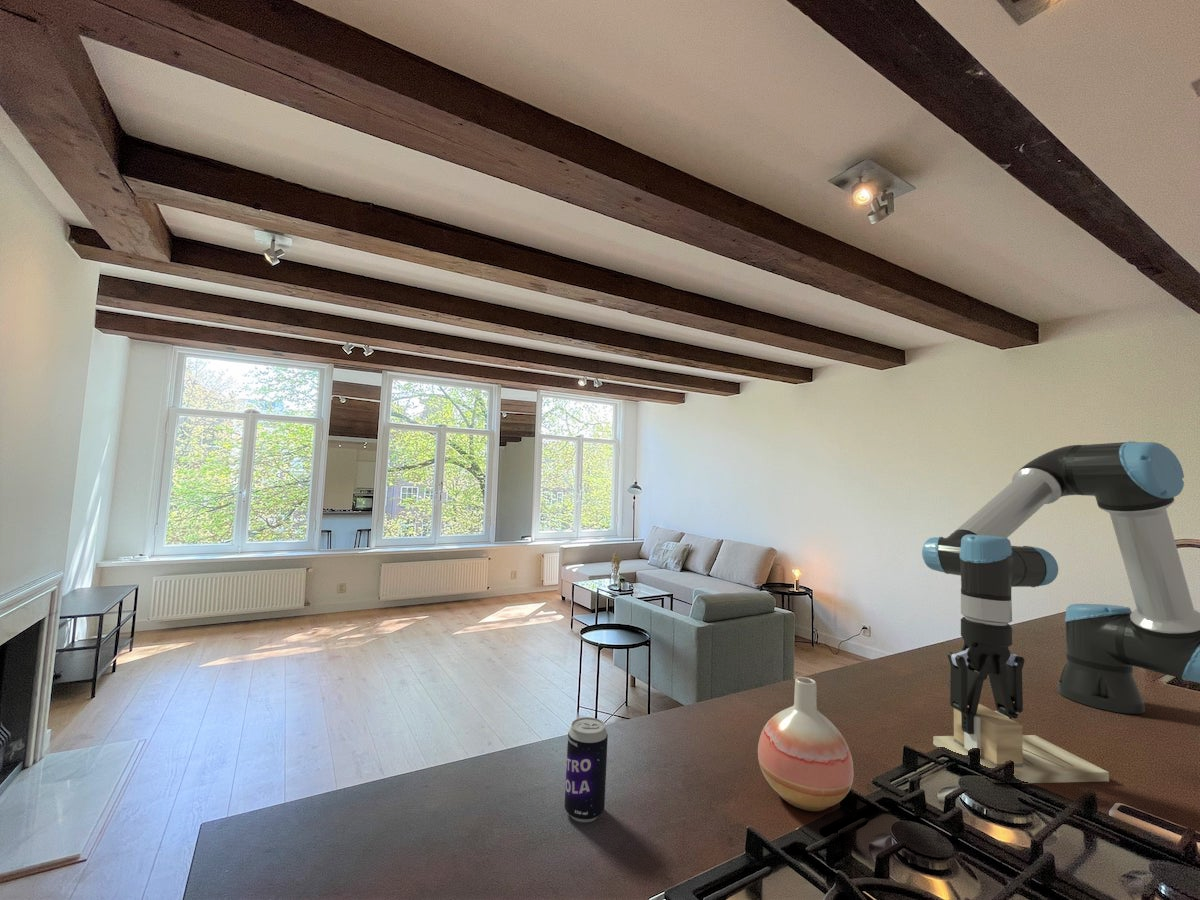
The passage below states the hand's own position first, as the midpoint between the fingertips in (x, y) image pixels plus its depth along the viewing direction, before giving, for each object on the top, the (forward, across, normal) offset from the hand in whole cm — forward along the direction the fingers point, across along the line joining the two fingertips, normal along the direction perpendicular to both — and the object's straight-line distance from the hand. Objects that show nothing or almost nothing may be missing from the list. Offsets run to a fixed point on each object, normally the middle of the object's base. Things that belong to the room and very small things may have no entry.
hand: (986, 751), depth 91 cm
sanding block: (0, 0, 0) cm, 0 cm away
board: (+2, -6, 0) cm, 6 cm away
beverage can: (+2, +74, +11) cm, 75 cm away
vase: (+2, +40, +9) cm, 41 cm away
